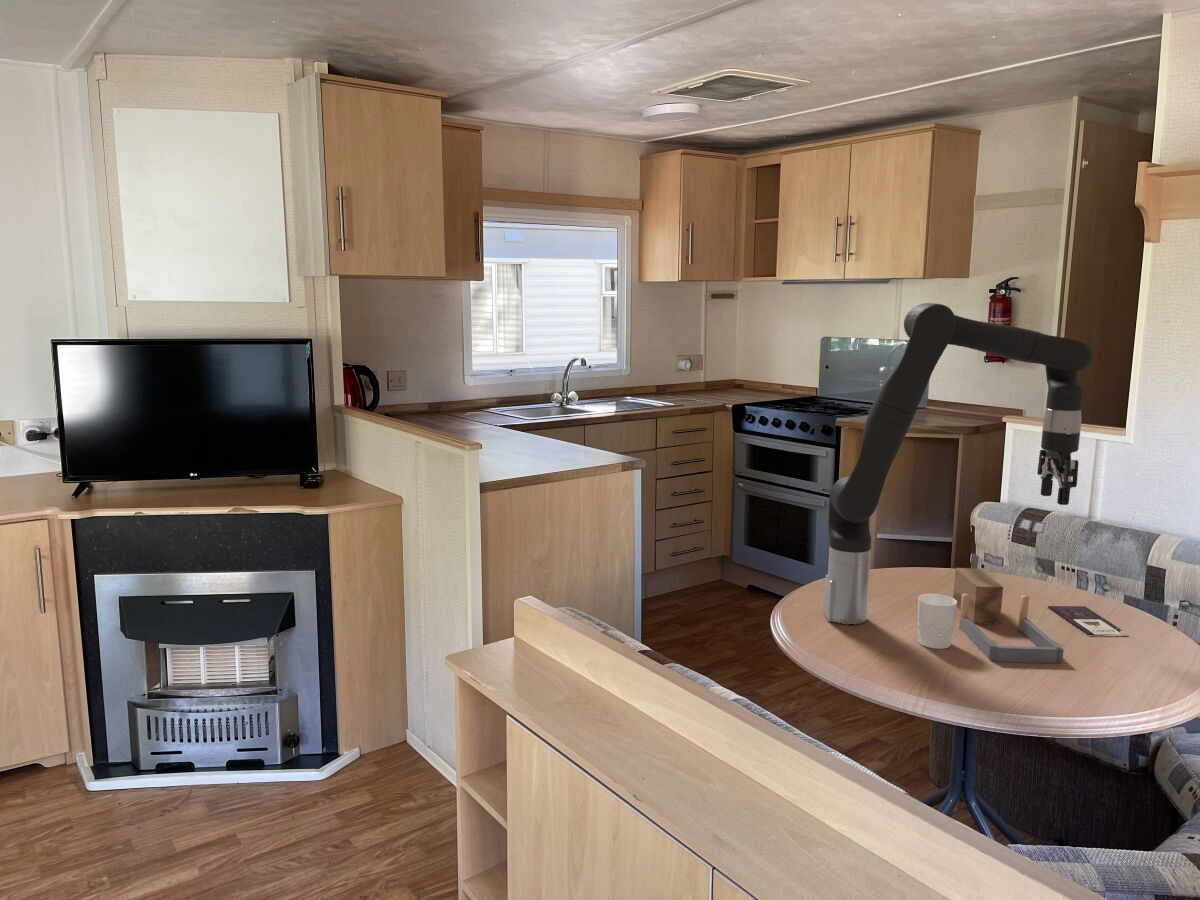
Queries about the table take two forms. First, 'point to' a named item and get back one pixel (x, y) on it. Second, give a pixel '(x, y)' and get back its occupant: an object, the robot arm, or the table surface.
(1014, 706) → the table surface
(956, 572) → the walnut block
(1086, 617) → the chocolate bar
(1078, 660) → the table surface
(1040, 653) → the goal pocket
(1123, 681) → the table surface
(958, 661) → the table surface
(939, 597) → the white cup
